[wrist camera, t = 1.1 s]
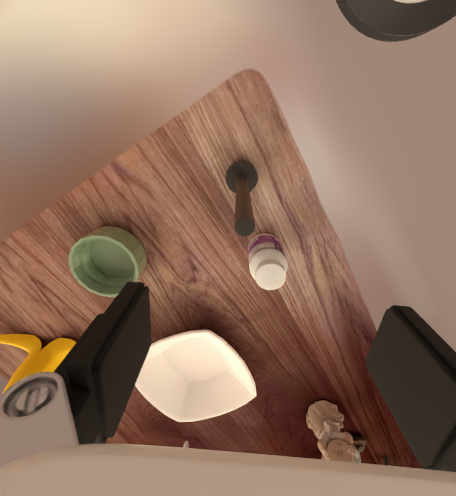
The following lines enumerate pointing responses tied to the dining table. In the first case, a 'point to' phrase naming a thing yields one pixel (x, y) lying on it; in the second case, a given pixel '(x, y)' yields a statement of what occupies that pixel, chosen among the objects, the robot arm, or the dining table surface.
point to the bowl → (195, 376)
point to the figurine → (331, 433)
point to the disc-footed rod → (242, 195)
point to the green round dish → (107, 260)
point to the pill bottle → (267, 261)
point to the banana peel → (37, 354)
